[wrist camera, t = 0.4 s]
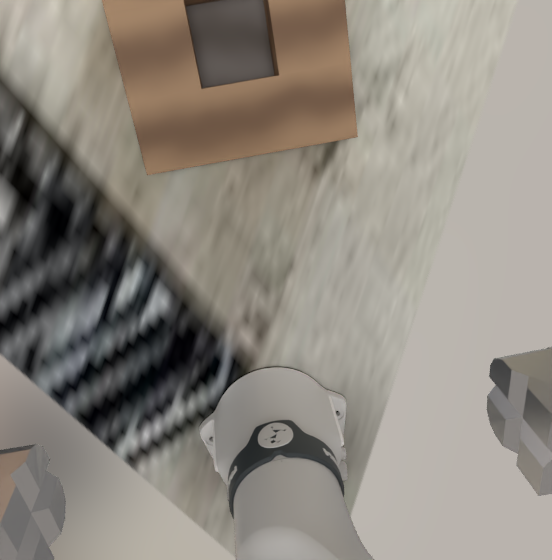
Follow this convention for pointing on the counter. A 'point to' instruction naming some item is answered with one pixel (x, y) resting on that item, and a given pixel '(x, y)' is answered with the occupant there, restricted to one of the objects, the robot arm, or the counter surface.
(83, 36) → the counter surface
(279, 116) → the socket board
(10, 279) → the counter surface
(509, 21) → the counter surface
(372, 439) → the counter surface
